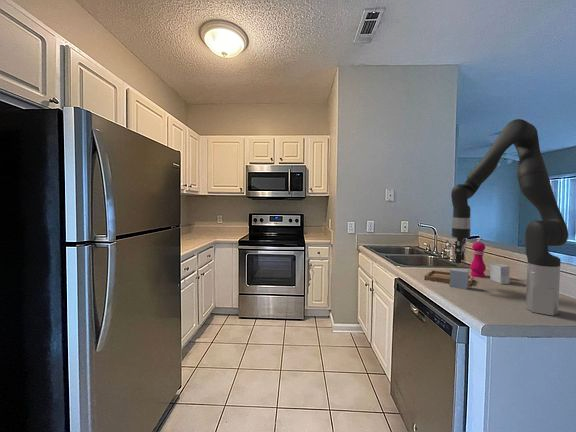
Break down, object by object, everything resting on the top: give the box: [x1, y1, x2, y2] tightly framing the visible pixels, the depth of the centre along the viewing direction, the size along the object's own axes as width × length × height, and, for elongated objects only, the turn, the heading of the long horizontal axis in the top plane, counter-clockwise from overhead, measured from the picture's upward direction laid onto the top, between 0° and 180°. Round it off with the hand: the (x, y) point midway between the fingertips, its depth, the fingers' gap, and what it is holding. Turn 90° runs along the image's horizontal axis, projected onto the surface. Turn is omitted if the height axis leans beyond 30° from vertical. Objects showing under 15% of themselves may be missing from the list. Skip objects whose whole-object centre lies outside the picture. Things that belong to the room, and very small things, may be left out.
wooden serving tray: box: [423, 270, 474, 288], centre depth 156 cm, size 16×20×2 cm
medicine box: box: [489, 263, 511, 285], centre depth 152 cm, size 8×4×9 cm, turn 179°
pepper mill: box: [469, 238, 487, 278], centre depth 164 cm, size 7×7×20 cm
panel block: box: [449, 268, 469, 290], centre depth 142 cm, size 4×7×8 cm, turn 53°
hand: (459, 261), depth 142 cm, fingers open, 8 cm apart
